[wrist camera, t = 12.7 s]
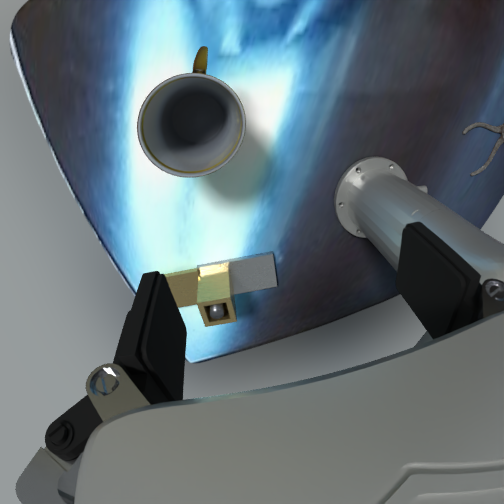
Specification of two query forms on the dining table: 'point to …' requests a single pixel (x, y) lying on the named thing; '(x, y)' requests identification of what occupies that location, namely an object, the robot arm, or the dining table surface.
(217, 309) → the steel leaf with pin
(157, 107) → the ceramic cup
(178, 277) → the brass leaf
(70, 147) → the dining table surface
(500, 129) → the pliers
